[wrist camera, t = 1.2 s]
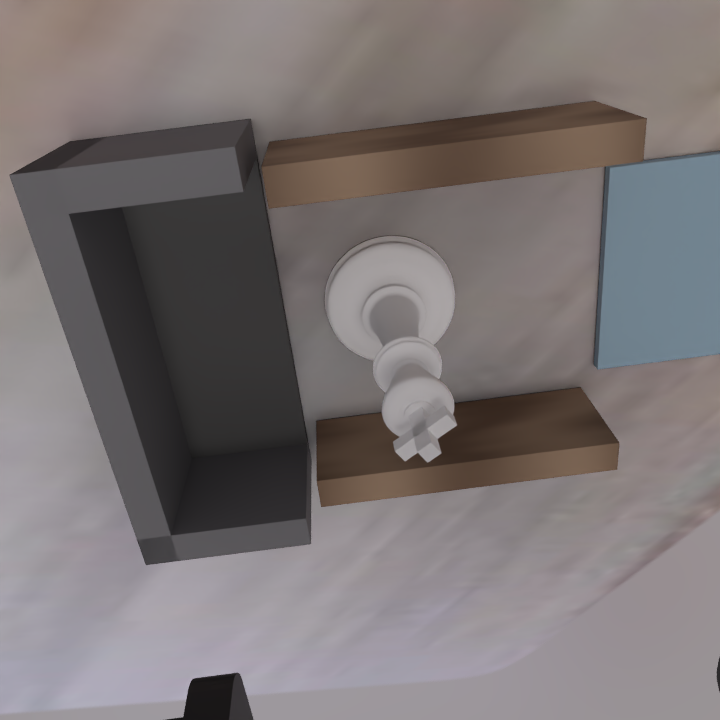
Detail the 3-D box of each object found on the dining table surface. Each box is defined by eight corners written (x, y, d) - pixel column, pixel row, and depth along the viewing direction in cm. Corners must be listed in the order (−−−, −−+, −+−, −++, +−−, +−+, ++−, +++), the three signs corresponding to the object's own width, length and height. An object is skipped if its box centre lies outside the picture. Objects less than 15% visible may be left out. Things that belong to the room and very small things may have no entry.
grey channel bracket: (250, 119, 22) (234, 146, 18) (311, 461, 29) (310, 543, 24) (69, 141, 22) (9, 174, 18) (171, 479, 29) (146, 564, 24)
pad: (831, 137, 24) (839, 139, 23) (789, 340, 27) (795, 344, 27) (606, 165, 24) (609, 167, 23) (593, 364, 27) (597, 369, 27)
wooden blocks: (595, 101, 23) (646, 118, 19) (579, 411, 28) (617, 469, 25) (269, 141, 23) (261, 167, 19) (320, 444, 28) (321, 507, 25)
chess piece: (479, 304, 26) (564, 458, 17) (379, 378, 27) (411, 558, 18) (400, 207, 24) (450, 325, 15) (297, 292, 25) (288, 446, 16)
